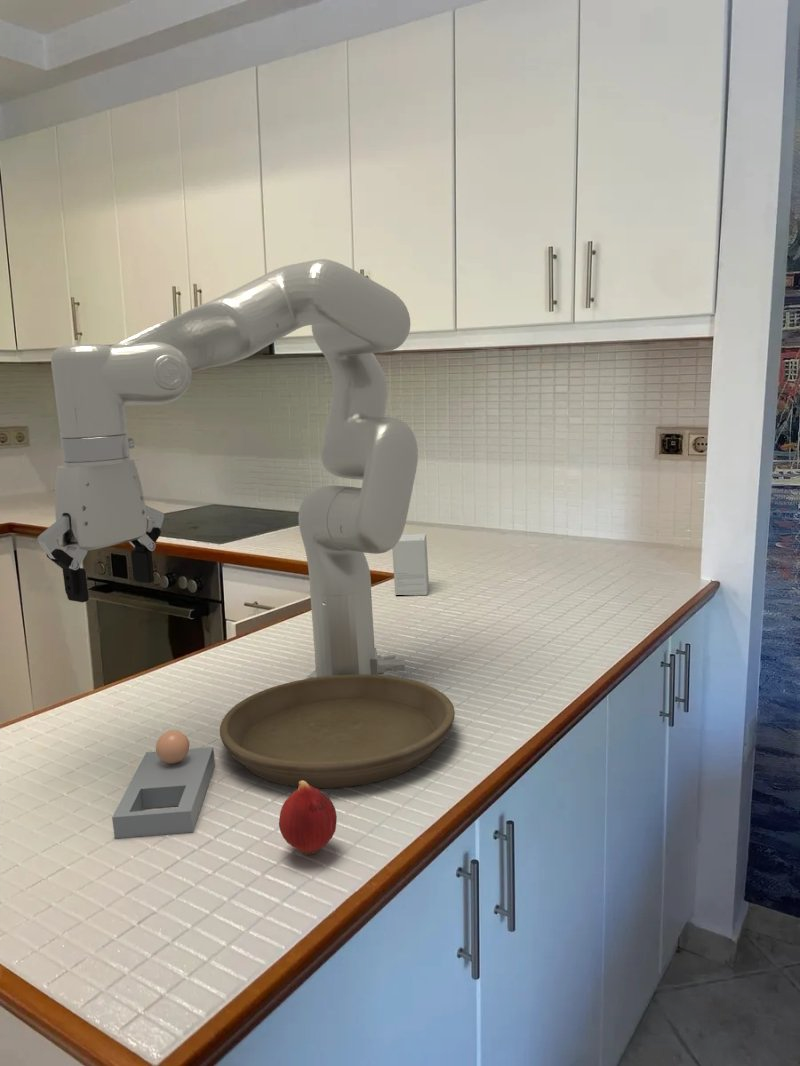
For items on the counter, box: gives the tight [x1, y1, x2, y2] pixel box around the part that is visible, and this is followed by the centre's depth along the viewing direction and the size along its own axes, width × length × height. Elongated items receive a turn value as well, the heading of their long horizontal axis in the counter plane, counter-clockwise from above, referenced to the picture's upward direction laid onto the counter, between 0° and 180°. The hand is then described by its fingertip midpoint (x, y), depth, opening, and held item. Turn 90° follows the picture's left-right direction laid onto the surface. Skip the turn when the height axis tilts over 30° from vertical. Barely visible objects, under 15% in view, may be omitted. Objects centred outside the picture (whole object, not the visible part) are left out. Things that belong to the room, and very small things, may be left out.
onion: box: [278, 781, 338, 856], centre depth 85 cm, size 6×6×8 cm
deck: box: [111, 746, 216, 839], centre depth 98 cm, size 8×16×2 cm, turn 4°
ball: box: [155, 729, 190, 764], centre depth 102 cm, size 4×4×4 cm
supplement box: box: [391, 533, 430, 596], centre depth 186 cm, size 7×7×13 cm
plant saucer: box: [219, 675, 456, 789], centre depth 111 cm, size 31×31×5 cm
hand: (112, 590), depth 102 cm, fingers open, 9 cm apart
